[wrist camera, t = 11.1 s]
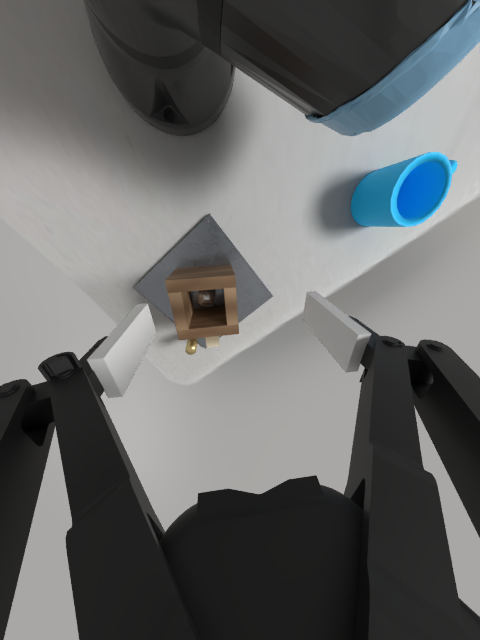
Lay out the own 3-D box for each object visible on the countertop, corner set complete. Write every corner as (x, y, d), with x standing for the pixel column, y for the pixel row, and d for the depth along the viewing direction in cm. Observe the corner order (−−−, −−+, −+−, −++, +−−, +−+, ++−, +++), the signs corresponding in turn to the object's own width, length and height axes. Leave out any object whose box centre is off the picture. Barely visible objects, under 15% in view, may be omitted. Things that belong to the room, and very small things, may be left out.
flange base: (135, 286, 33) (124, 294, 29) (209, 213, 30) (208, 212, 26) (205, 346, 41) (204, 359, 37) (271, 294, 37) (278, 302, 33)
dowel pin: (187, 332, 38) (183, 350, 33) (194, 327, 38) (190, 344, 32) (194, 338, 39) (190, 356, 33) (200, 333, 38) (198, 350, 33)
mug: (356, 235, 34) (394, 238, 27) (345, 188, 30) (386, 177, 23) (421, 197, 32) (480, 189, 25) (418, 142, 29) (486, 114, 22)
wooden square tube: (175, 268, 32) (164, 280, 25) (230, 264, 33) (235, 275, 26) (190, 338, 39) (184, 363, 32) (235, 333, 39) (240, 357, 32)
